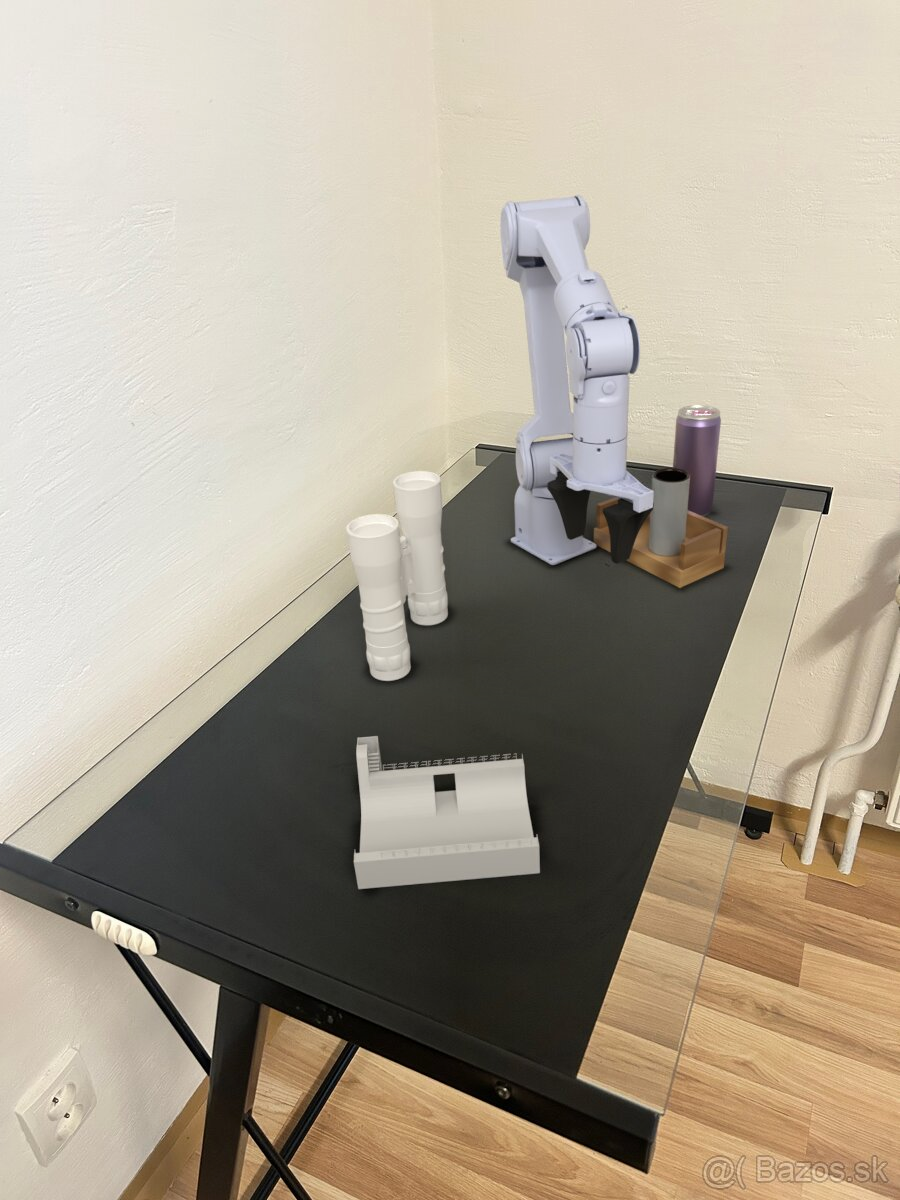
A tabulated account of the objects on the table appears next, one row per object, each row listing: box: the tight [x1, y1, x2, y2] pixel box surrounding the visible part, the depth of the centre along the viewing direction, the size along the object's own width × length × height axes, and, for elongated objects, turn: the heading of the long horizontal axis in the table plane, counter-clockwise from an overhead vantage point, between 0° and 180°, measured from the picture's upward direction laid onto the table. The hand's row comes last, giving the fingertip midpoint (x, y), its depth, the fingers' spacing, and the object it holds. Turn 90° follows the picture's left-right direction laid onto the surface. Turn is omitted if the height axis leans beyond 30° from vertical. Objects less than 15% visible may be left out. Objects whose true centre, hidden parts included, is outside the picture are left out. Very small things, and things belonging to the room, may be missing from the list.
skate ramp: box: [353, 735, 541, 890], centre depth 77 cm, size 15×13×5 cm
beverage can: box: [672, 404, 722, 517], centre depth 125 cm, size 6×6×15 cm
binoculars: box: [345, 470, 449, 682], centre depth 99 cm, size 17×5×18 cm, turn 159°
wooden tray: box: [593, 497, 729, 589], centre depth 116 cm, size 16×8×6 cm, turn 34°
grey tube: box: [649, 467, 690, 556], centre depth 111 cm, size 4×4×10 cm
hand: (597, 548), depth 101 cm, fingers open, 7 cm apart
